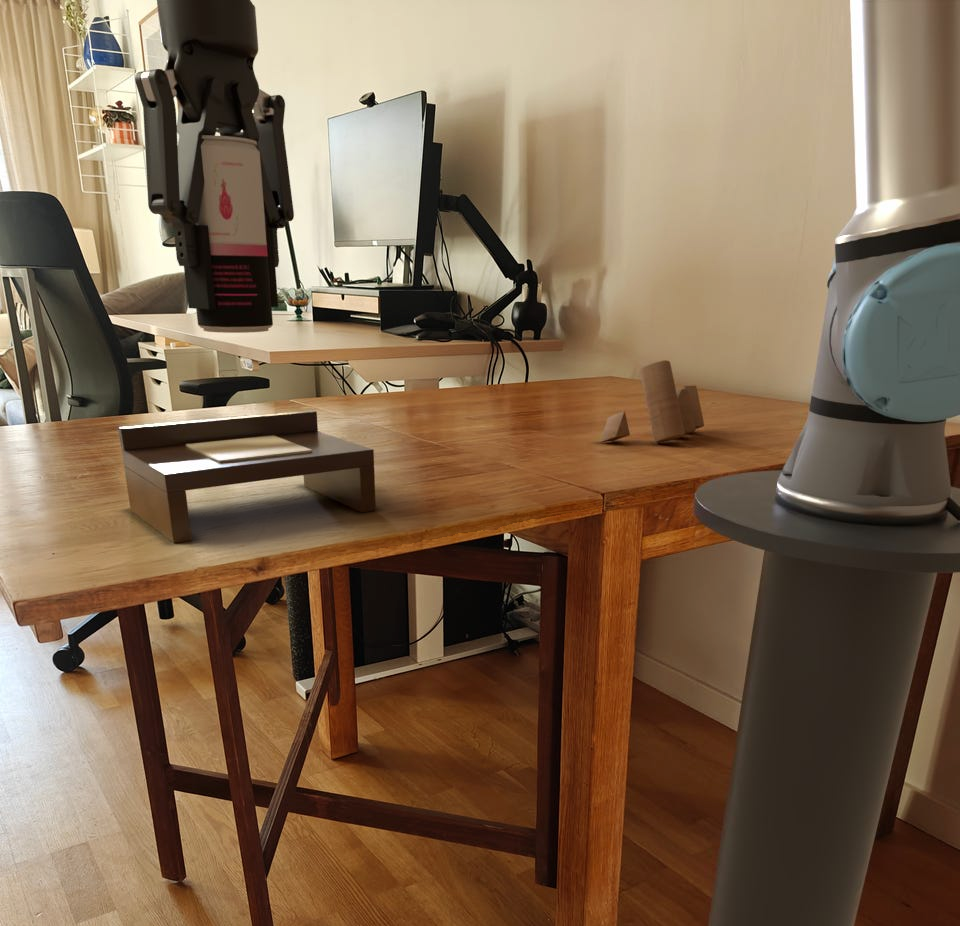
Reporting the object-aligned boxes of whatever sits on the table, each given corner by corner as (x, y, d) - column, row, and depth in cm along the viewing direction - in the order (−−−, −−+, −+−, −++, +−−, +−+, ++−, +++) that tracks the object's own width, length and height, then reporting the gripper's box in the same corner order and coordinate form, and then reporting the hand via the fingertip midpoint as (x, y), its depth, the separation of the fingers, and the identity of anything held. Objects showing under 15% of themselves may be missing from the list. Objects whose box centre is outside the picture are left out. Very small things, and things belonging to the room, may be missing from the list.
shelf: (376, 510, 85) (373, 428, 82) (173, 543, 74) (161, 450, 71) (317, 484, 95) (312, 410, 92) (130, 510, 84) (117, 427, 81)
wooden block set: (681, 445, 131) (667, 378, 130) (729, 429, 124) (715, 358, 123) (602, 455, 120) (586, 381, 119) (650, 438, 113) (634, 360, 112)
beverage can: (280, 328, 81) (266, 146, 75) (264, 333, 75) (248, 135, 69) (210, 327, 81) (191, 144, 75) (189, 332, 75) (166, 134, 69)
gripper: (265, 28, 77) (284, 303, 87) (63, -31, 63) (113, 309, 72) (326, 17, 74) (340, 306, 83) (127, -49, 59) (171, 312, 68)
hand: (234, 307), depth 77 cm, fingers closed on beverage can, 6 cm apart
